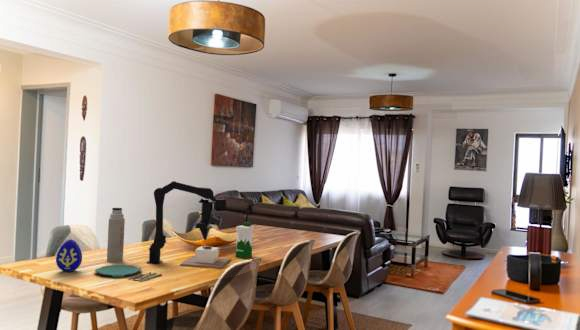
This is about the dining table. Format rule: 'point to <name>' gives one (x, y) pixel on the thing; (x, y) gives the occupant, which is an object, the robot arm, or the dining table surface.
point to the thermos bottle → (115, 236)
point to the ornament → (69, 256)
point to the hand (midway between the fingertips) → (205, 239)
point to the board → (218, 264)
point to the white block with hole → (206, 255)
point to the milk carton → (244, 240)
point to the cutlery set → (124, 272)
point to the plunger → (207, 247)
